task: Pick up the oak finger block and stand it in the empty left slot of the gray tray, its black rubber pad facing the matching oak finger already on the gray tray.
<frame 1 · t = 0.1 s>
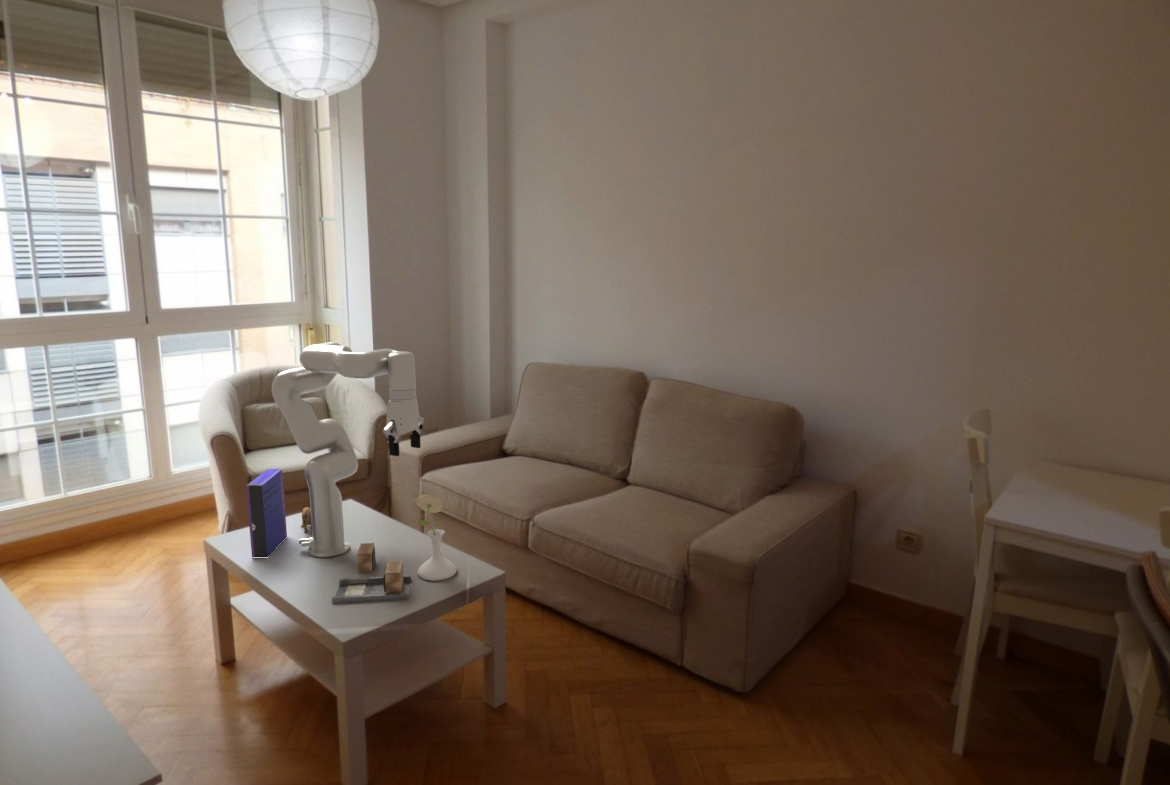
hand: (405, 451, 221), 37 cm above the table, tool pointing down, fingers open, 9 cm apart
gray tray: (373, 594, 212), on the table
flower in vase: (435, 576, 224), on the table
finger block: (366, 570, 228), on the table
lion figurine: (310, 529, 260), on the table
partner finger: (395, 589, 212), resting on gray tray
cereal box: (270, 548, 244), on the table
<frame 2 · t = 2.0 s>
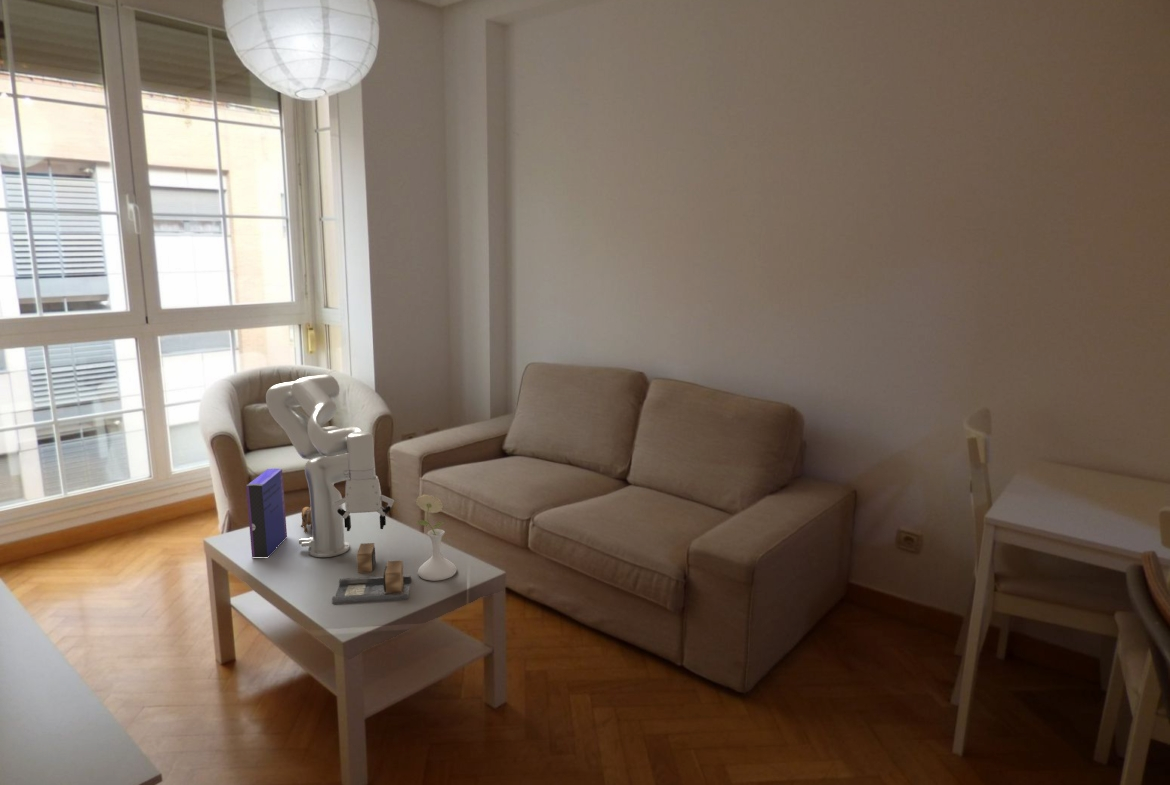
hand: (365, 528, 225), 13 cm above the table, tool pointing down, fingers open, 9 cm apart
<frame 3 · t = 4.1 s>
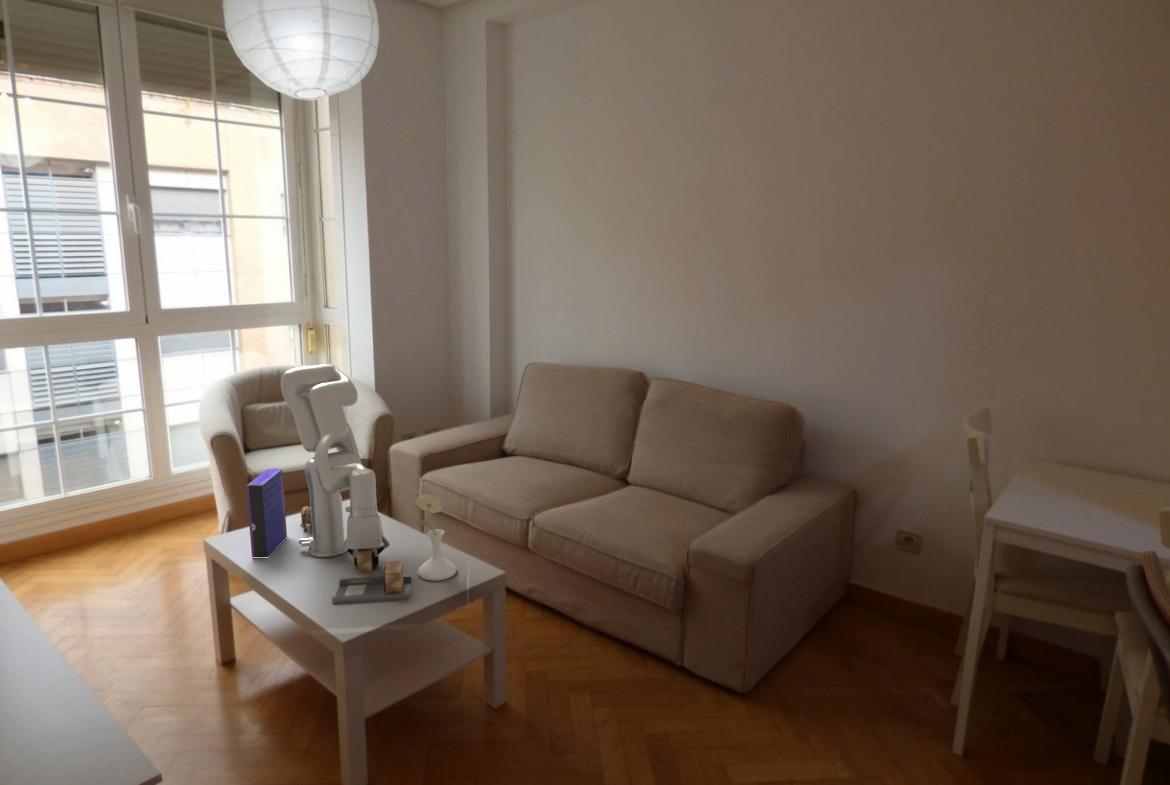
hand: (366, 567, 227), 1 cm above the table, tool pointing down, fingers closed on finger block, 4 cm apart
finger block: (366, 570, 228), on the table, touching gripper
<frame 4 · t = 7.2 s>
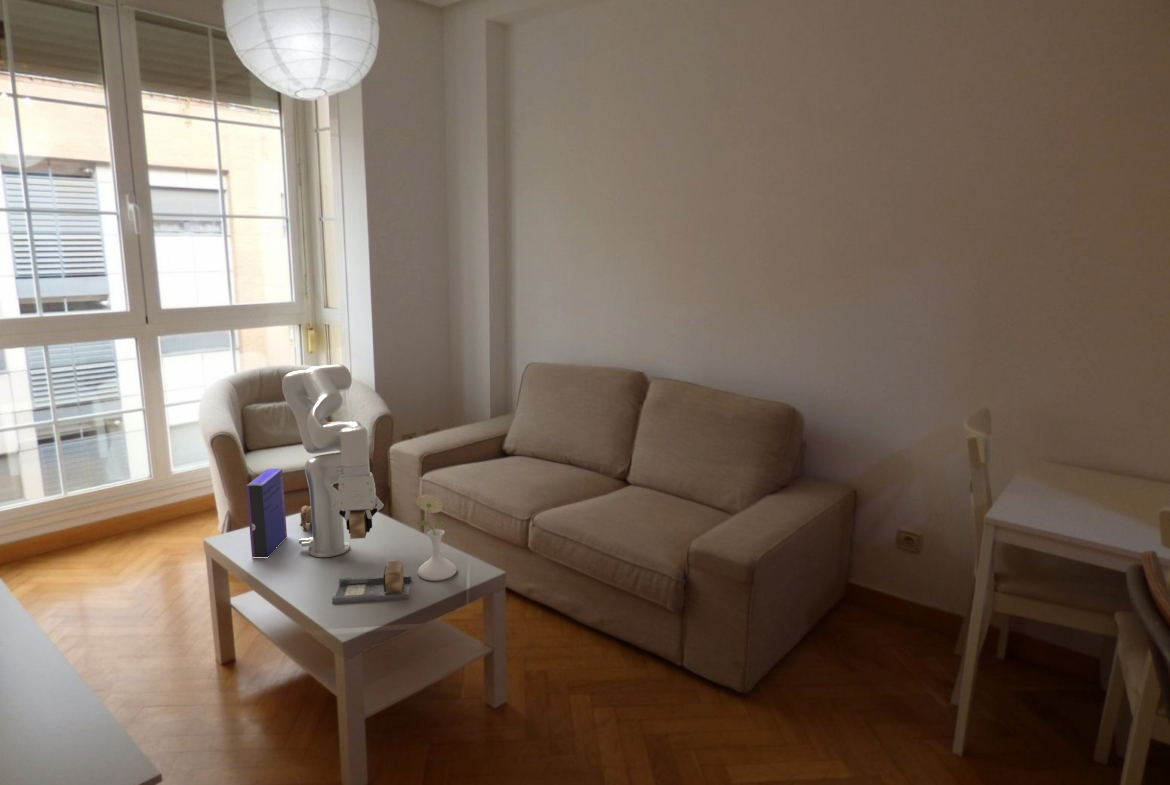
hand: (359, 530, 216), 16 cm above the table, tool pointing down, fingers closed on finger block, 4 cm apart
finger block: (359, 533, 217), point 15 cm above the table, touching gripper
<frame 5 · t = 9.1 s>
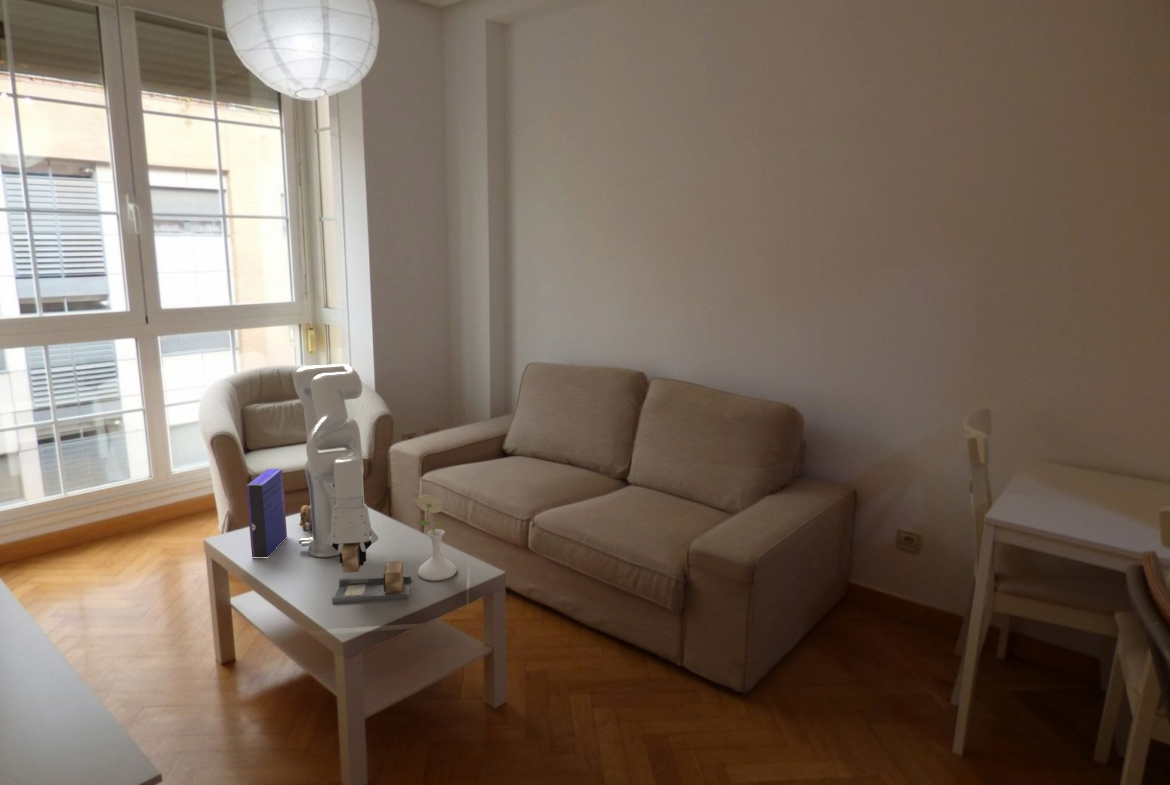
hand: (353, 563, 209), 10 cm above the table, tool pointing down, fingers closed on finger block, 4 cm apart
finger block: (353, 566, 209), point 9 cm above the table, touching gripper
when the fingers open (4 cm above the table, at t = 10.5 s): finger block drops 2 cm, resting on gray tray.
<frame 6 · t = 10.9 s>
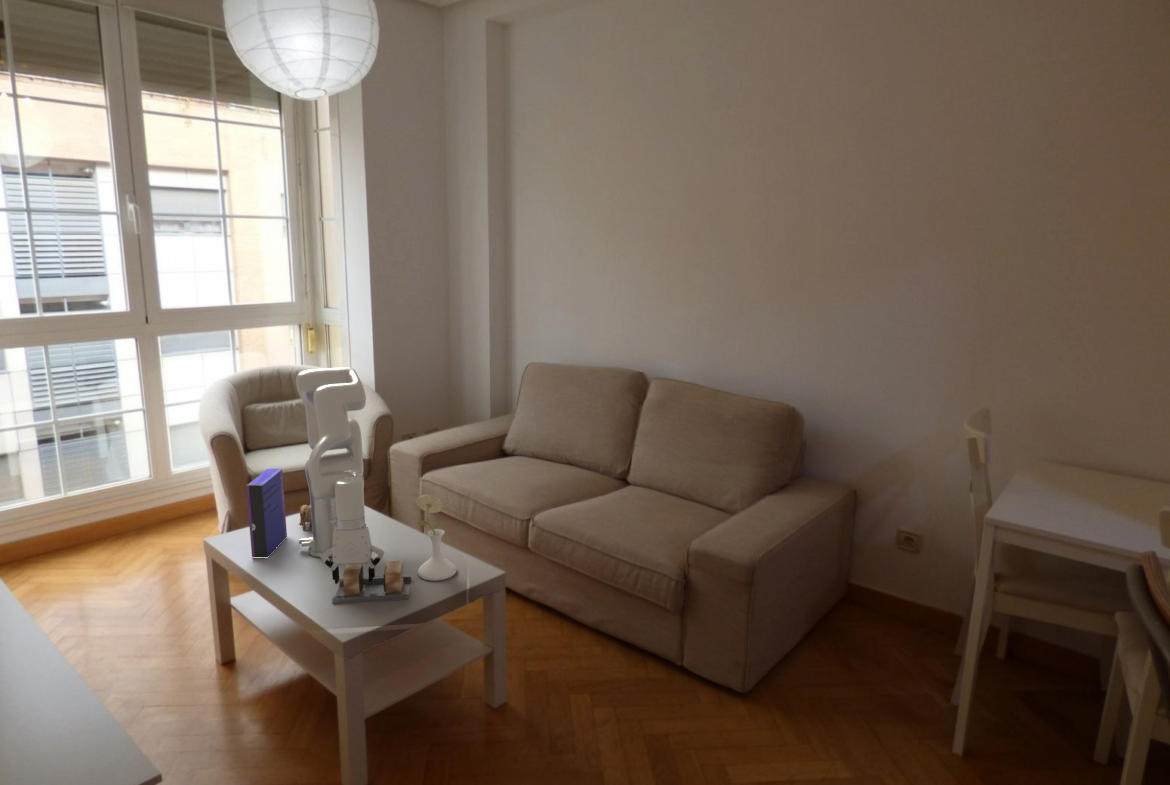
hand: (354, 580, 210), 4 cm above the table, tool pointing down, fingers open, 8 cm apart
finger block: (354, 591, 211), point 1 cm above the table, touching gray tray
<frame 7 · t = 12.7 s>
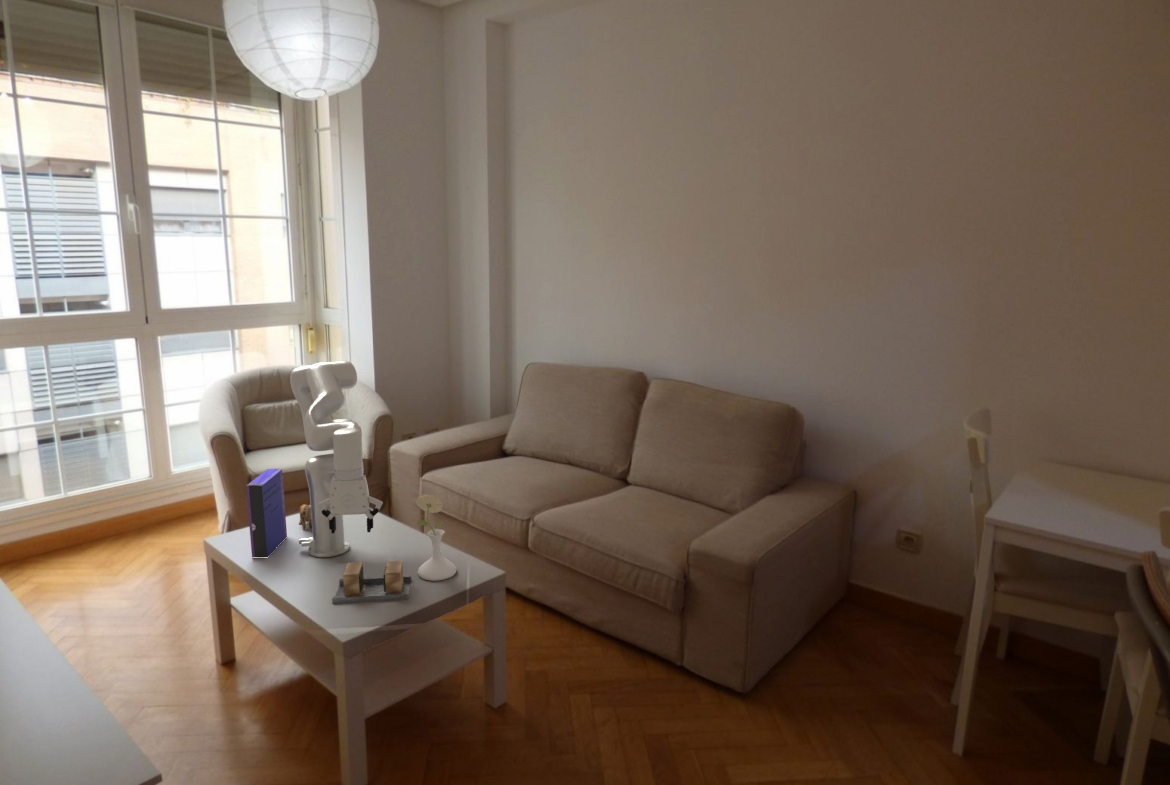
hand: (351, 531, 211), 18 cm above the table, tool pointing down, fingers open, 9 cm apart
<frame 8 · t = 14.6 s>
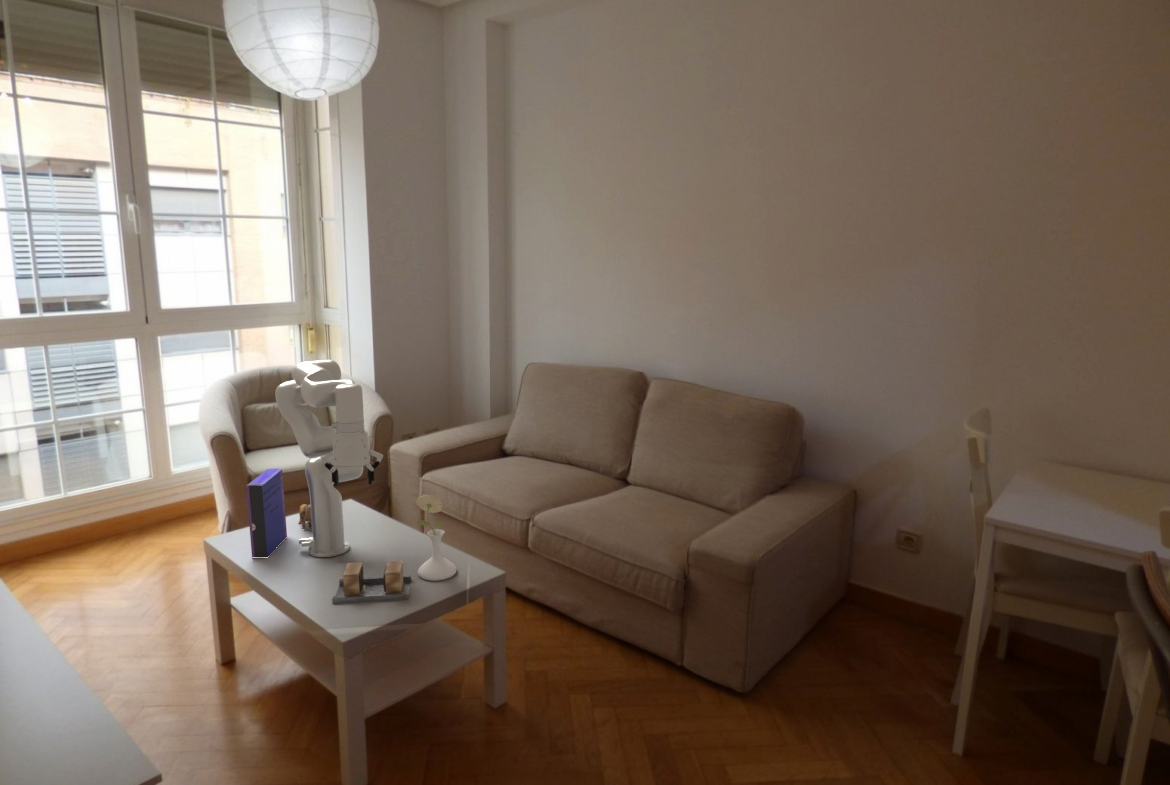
hand: (353, 483, 219), 28 cm above the table, tool pointing down, fingers open, 9 cm apart
at the end: finger block 0.2 cm from the target spot on the gray tray, point 1.1 cm above the gray tray's base; finger block tilted 0°; the gripper is holding nothing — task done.
